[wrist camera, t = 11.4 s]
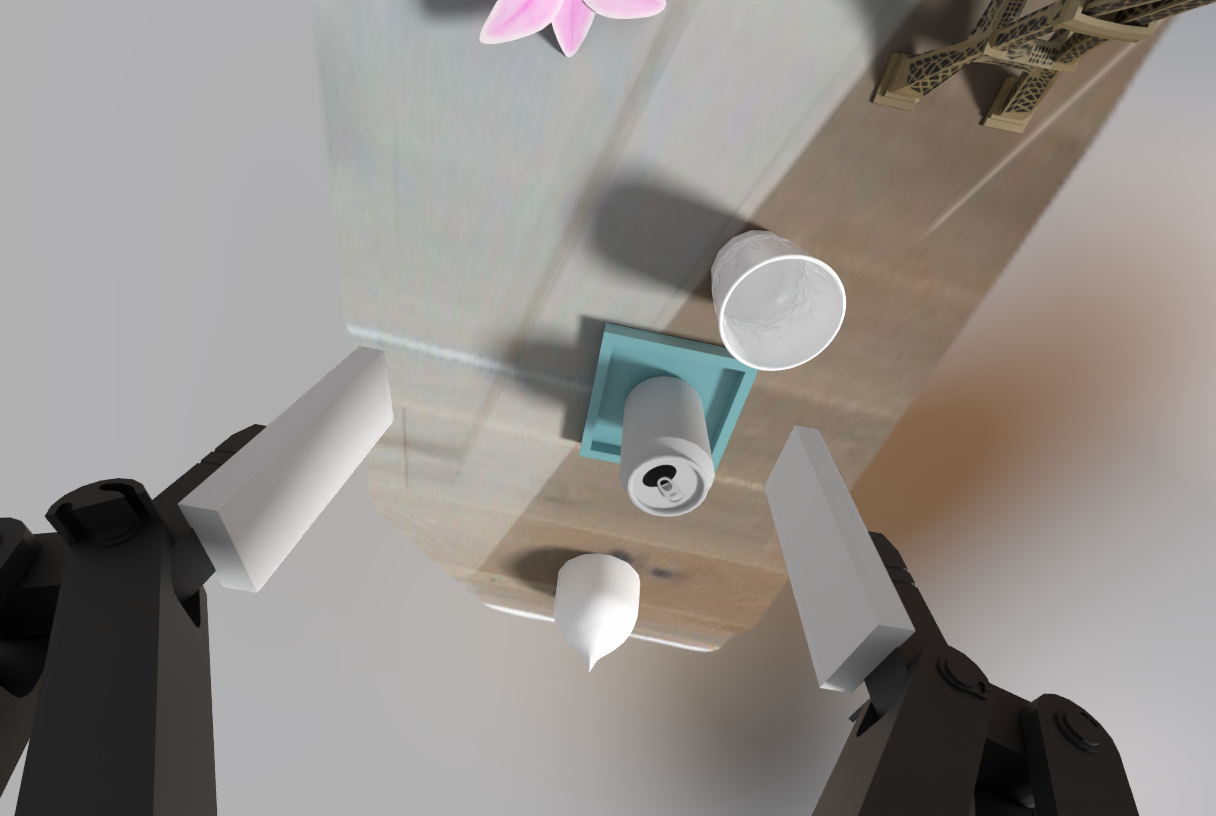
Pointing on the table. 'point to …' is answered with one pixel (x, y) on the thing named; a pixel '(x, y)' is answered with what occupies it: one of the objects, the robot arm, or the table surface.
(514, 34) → the lily
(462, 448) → the table surface
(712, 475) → the can
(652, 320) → the table surface
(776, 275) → the white cup
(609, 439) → the tray
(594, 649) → the teardrop
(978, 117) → the table surface
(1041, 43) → the eiffel tower
